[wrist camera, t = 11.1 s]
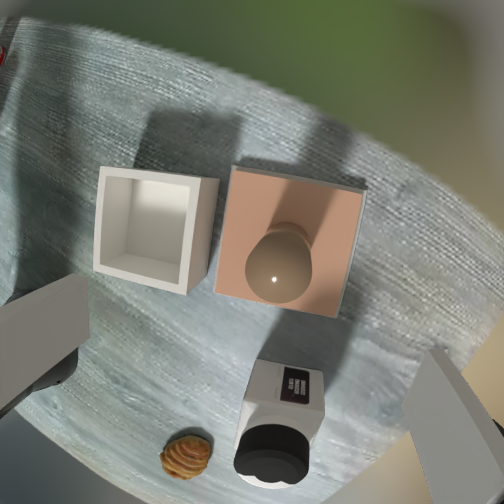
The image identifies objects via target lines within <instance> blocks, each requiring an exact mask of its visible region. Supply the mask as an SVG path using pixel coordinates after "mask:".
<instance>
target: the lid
mask: <svg viewBox="0 0 504 504" xmlns="http://www.w3.org/2000/svg"><path fill="white" fill-rule="evenodd" d="M362 195H363V194H358V193H354V192H349V191H345V190H340V189H335V188H330V187H326V186H321V185H316V184H310V183H305V182H300V181H295V180H289V179H284V178H278V177H272V176H266V175H260V174H254V173H248V172H241V171H235V170H233V174H232V181H231V187H230V193H229V200H228V206H227V212H226V219H225V226H224V232H223V239H222V246H221V253H220V260H219V267H218V274H217V282H216V289H215V293H220V294H224V295H229V296H233V297H238V298H242V299H247V300H252V301H256V302H261V303H266V304H271V305H276V306H281V307H285V308H290V309H295V310H301V311H306V312H311V313H316V314H321V315H327V316H332V317H334V316H335V312H336V309H337V305H338V301H339V297H340V294H341V290H342V286H343V282H344V278H345V274H346V270H347V266H348V261H349V257H350V253H351V248H352V244H353V239H354V235H355V230H356V225H357V221H358V216H359V211H360V206H361V200H362Z"/></svg>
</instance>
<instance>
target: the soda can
mask: <svg viewBox="0 0 504 504" xmlns="http://www.w3.org/2000/svg"><path fill="white" fill-rule="evenodd" d="M4 59H5V50H4V47H2V46H0V68H1V66H2V64H3V62H4Z"/></svg>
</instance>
